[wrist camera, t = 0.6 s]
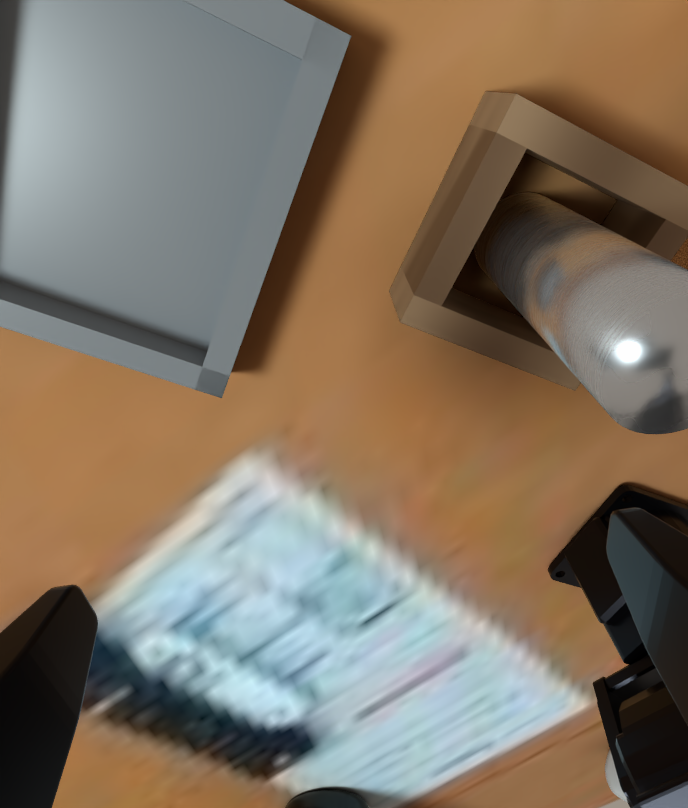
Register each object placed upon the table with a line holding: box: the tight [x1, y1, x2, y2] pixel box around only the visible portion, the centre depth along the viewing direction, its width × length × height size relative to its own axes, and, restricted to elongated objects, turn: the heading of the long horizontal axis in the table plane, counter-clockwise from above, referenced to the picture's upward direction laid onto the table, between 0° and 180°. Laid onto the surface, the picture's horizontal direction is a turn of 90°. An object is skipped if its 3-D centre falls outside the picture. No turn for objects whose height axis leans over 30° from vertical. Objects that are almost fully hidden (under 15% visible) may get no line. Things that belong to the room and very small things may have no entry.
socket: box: [389, 91, 688, 391], centre depth 18 cm, size 7×7×3 cm
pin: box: [474, 192, 688, 434], centre depth 15 cm, size 3×3×10 cm
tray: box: [0, 0, 351, 398], centre depth 17 cm, size 10×12×2 cm
